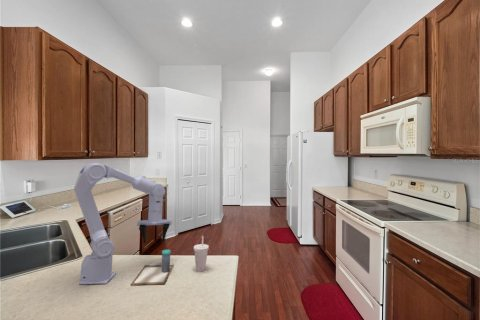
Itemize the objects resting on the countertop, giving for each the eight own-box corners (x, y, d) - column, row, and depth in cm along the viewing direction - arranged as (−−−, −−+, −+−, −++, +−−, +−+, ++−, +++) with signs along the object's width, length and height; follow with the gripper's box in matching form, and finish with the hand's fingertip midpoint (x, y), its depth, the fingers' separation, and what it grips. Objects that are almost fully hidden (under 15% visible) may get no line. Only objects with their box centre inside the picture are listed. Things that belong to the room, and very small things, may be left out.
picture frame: (130, 285, 79) (130, 282, 79) (145, 266, 95) (145, 263, 95) (164, 284, 80) (164, 281, 80) (173, 265, 96) (173, 262, 96)
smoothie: (204, 274, 89) (206, 239, 90) (190, 272, 90) (191, 237, 91) (210, 267, 95) (211, 234, 96) (196, 265, 97) (197, 233, 97)
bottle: (160, 272, 88) (161, 252, 88) (162, 269, 92) (163, 249, 92) (168, 272, 88) (169, 252, 89) (170, 268, 92) (171, 249, 92)
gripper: (135, 212, 92) (134, 245, 92) (171, 212, 95) (170, 243, 95) (139, 209, 99) (138, 240, 99) (172, 209, 102) (171, 238, 102)
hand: (154, 241), depth 97 cm, fingers open, 7 cm apart
